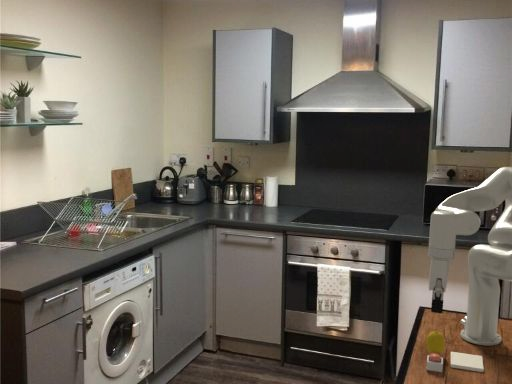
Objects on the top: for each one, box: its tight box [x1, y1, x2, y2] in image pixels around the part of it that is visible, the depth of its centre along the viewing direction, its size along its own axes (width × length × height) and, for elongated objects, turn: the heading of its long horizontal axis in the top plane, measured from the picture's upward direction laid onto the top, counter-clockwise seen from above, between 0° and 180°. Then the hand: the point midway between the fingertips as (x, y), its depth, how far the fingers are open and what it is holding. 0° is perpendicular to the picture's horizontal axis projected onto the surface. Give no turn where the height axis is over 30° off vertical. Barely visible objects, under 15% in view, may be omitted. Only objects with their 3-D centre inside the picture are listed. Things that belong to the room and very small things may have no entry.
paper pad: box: [450, 351, 484, 373], centre depth 168 cm, size 9×9×1 cm
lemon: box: [425, 330, 446, 355], centre depth 173 cm, size 6×6×8 cm
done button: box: [430, 353, 441, 363], centre depth 165 cm, size 3×3×2 cm
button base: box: [426, 354, 444, 373], centre depth 165 cm, size 4×4×3 cm
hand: (437, 307), depth 171 cm, fingers open, 9 cm apart
